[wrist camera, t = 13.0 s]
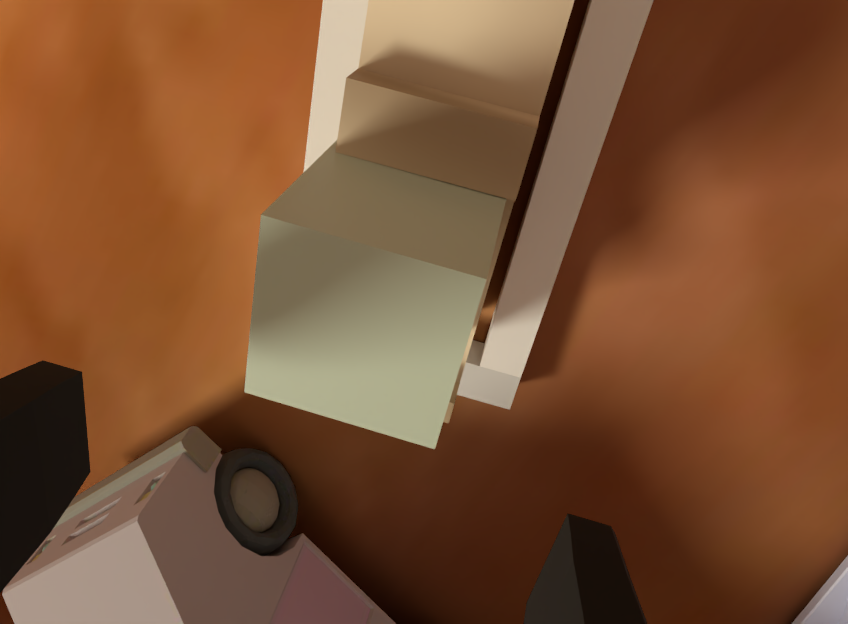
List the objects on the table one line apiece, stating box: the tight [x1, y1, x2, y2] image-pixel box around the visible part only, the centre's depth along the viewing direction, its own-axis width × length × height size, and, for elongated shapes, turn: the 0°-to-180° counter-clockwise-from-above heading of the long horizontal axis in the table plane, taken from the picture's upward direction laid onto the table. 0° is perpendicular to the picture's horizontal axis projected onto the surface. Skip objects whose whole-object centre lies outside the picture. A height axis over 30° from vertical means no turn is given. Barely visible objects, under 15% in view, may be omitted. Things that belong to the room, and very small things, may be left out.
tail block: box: [244, 140, 506, 449], centre depth 13 cm, size 4×4×4 cm
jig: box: [304, 0, 653, 410], centre depth 17 cm, size 14×7×1 cm, turn 168°
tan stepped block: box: [336, 0, 574, 423], centre depth 15 cm, size 11×4×5 cm, turn 168°
